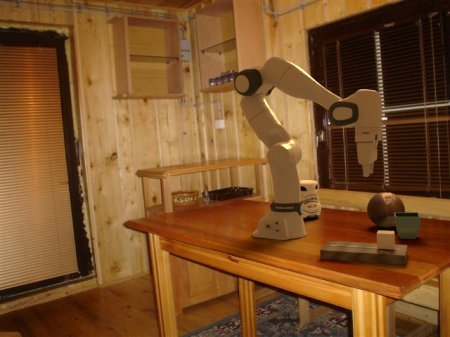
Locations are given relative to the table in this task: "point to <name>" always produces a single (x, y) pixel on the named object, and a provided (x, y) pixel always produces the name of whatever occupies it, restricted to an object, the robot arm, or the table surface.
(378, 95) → the robot arm
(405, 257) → the track board
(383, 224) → the brown leather ball
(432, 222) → the table surface
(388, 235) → the fader
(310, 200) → the milk container
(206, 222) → the table surface
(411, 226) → the flower pot
